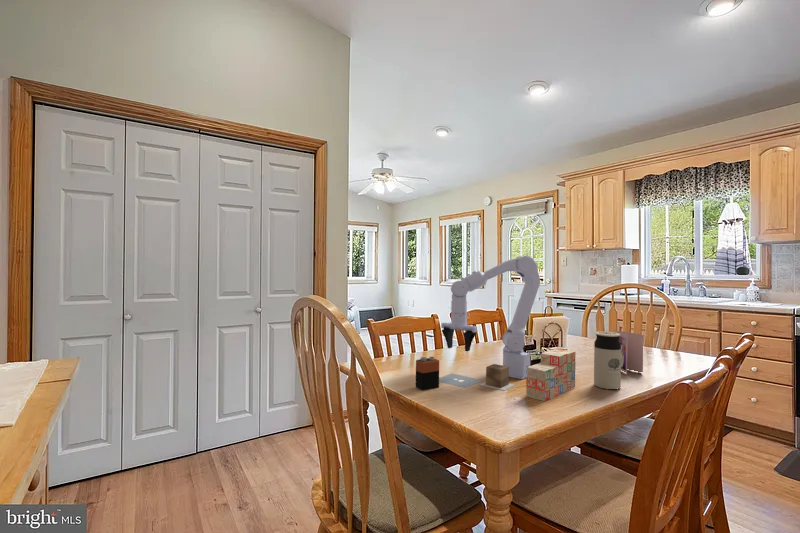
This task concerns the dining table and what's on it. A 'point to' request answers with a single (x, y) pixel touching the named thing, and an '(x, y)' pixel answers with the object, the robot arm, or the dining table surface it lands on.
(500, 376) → the walnut block
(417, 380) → the battery
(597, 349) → the travel mug
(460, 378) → the blue-gray square plate
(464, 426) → the dining table surface
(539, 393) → the stack of blocks
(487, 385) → the rubber mat
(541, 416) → the dining table surface
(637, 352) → the greeting card
